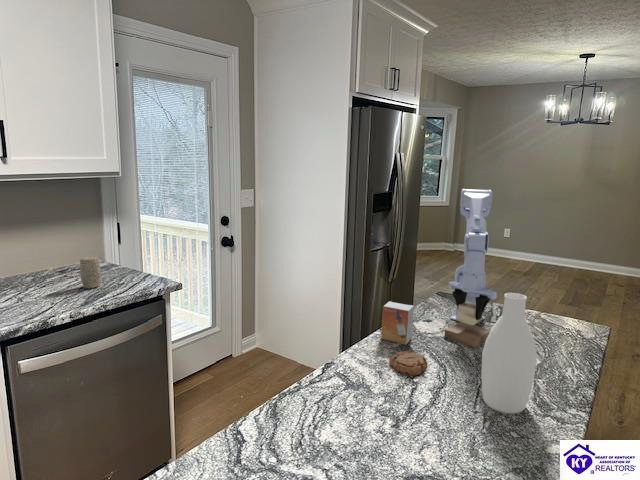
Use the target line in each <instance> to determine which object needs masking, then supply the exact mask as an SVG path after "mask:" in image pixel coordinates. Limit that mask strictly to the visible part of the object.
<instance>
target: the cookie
mask: <svg viewBox="0 0 640 480" xmlns="http://www.w3.org/2000/svg"><path fill="white" fill-rule="evenodd" d="M388 360H389V364H390V366H392V369H393V370H395V372H397V373H400V374H401V375H403V376H409V377H414V376H420V375H422V374H423V373H425V372H426V368H427V366H428V361H427V359H426V357H425V356H424V355H422V354H419V353H415V352H411V351H408V350H407V351H401V352H396V353H395V354H393V355H392V356H391V357H390V359H388Z"/></svg>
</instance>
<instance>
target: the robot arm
mask: <svg viewBox="0 0 640 480" xmlns="http://www.w3.org/2000/svg"><path fill="white" fill-rule="evenodd" d="M492 203H493V191H492V190H491V189H474V188H473V189H471V188H470V189H469V188H466V189H465V188H462V189H461V192H460V204H459V206H460V207H459V208H460V209H459V211H460V215H461V216H463V217H465V220H466V225H465V227H466V230H465V231H466V232H465V235H464V239H463V240H464V243H463V251H464V260H463V261H464V262H463V264H462V265H461V266H458V267H457V268H456V270H455V273H454V281H449V282H448V289H450V290H452V289H453V292H452V297H453V298H454V301H455V303H456V307H455V315H451V316H450V317H449V318H450V319H451V320H453V321H456V322H458V321H457V319H458V307H459V305H460V304H462V303H465V302H471V303H475V304H476V320H479V319H481V321H483V320H485V319H486V317H485V316H483V315H484V311H485V309H486V307H487V305H488V304H489V302H490V301H491V300H493V301H494V300H496V299H498V298H497V295H498V292H497V291H494V290H492V289H488V288H486V286H487V285H486V284H487V278H486V276H487V274H486V271H485V262H486V253H488V249H489V243H490V242H489V238H490V237H489V233H488V231H487V220H486V219H485V218H486V217H488V216H489V213H490V212H491V209H492V208H491V207H492Z"/></svg>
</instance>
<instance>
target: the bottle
mask: <svg viewBox="0 0 640 480" xmlns="http://www.w3.org/2000/svg"><path fill="white" fill-rule="evenodd" d="M503 298H504V301H503V307H502V313H501V316H499V318H498V319H497V321H496V322H495V323H494V324H493V326H492V327H491V328H490V330H491V331H490V333H489V335H488V337H487V339H486V341H485V342H484V345H483V350H482V353H481V354H482V355H481V372H480V373H481V374H480V375H481V393H482V400H483V402H484V403H485V404H486V405H487V406H488V408H491V409H492V410H494V411H496V412H499V413H502V414H509V415H512V414H513V415H515V414H520V413H522V412H523V411H524V410H525V409H526V408H527V406H528V401H529V399H530V395H531V393H532V388H533V383H534V377H535V371H536V367H537V349H536V343H535V340H534V335H533V333H532V331H531V329H530V327H529V325H528V323H527V320H526V302H527V299H528V297H527V295H525V294H522V293H517V292H506V293H504V294H503Z"/></svg>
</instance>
